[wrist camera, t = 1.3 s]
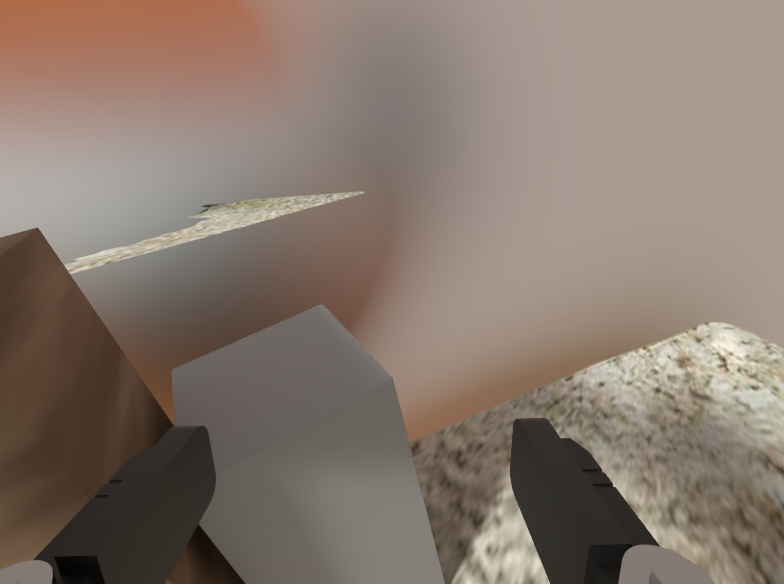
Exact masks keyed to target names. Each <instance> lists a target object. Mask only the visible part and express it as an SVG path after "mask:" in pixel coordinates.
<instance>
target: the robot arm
mask: <svg viewBox="0 0 784 584" xmlns="http://www.w3.org/2000/svg"><path fill="white" fill-rule="evenodd" d="M510 477H511V484H512V489H513V492H514V495H515V498H516V500H517V503H518V505H519V508H520V510H521V513H522V515H523V518H524V520H525V523H526V525H527V528H528V530H529V532H530V535H531V537H532V540H533V542H534V545H535V547H536V550H537V552H538V555H539V557H540V559H541V562H542V564H543V567H544V569H545V572H546V574H547V577H548V579H549V582H550V584H715V583H714V582H713V581H712V579H711V578H710V577H709V576H708V575H707V574H706V573H705V572H703V571H702V570H701V569H700V568H699V567H698V566H696V565H695V564H694V563H692V562H691V561H689V560H688V559H686V558H684V557H683V556H681V555H679V554H677V553H675V552H673V551H671V550H668V549H666V548H662V547H660V546H659V544H658V543H657V542H656V540H655V539H654V538H653V536H652V535H651V534H650V532H649V531H648V530H647V528H646V527H645V526H644V524H643V523H642V522H641V520H640V519H639V518H638V516H637V515H636V514H635V512H634V511H633V510H632V509H631V507H630V506H629V505H628V503H627V502H626V501H625V499H624V498H623V497H622V495H621V494H620V493H619V491H618V490H617V489H616V487H613V483H612V482H611V481H610V479H609V478H608V477H607V475H606V474H605V473H603V472H602V469H601V467H600V466H599V465H598V463H597V462H596V461H595V459H594V458H593V457H592V455H591V454H590V453H589V452H588V451H587V450H585V449H584V448H583V447H581V446H580V445H579V444H577V443H576V442H575V441H573V440H572V439H571V438H560V437H559V435H558V434H557V432H556V431H555V430H554V428H553V427H552V425H551V424H550V422H549V421H548V420H547V419H546V418H530V419H515V421H514V425H513V436H512V449H511V462H510ZM215 486H216V472H215V466H214V461H213V455H212V450H211V444H210V439H209V434H208V430H207V428H206V427H205V426H174V427H171V428H170V429H169V430H168V431H167V432H166V433H165V434H164V435H163V436H162V437H161V438H160V439H159V441H158V442H157V443H156V444H155V445H154V446H153V447H152V448H147V449H145V450H144V451H142V452H141V453H139V454H138V455H136V456H135V457H133V458H132V459H130V460H129V461H127V462H126V463H125V464H124V465H123V466H122V467H121V468H120V469H119V470H118V471H117V472H116V473H115V474H114V475H113V476H112V477H111V478H110V479H109V483H108V484H105V485H104V486H103V487H102V488H101V489H100V490H99V491H98V492H97V493H96V494H95V497H94V499H90V501H89V502H88V503H87V504H86V505H85V506H84V507H83V508H82V509H81V510H80V511H79V512H78V513H77V514H76V515H75V516H74V517H73V518H72V519H71V521H70V522H69V523H68V524H67V525H66V526H65V527H64V528H63V529H62V530H61V531H60V532H59V533H58V534H57V535H56V536H55V537H54V538H53V539H52V541H51V542H50V543H49V544H48V545H47V546H46V547H45V548H44V549H43V550H42V551H41V552H40V553H39V554H38V555H37V556H36V557H35V558H34V559H33V560H31V561H25V562H21V563H17V564H14V565H11V566H9V567H6V568H4V569H2V570H0V584H165V582H166V581H167V579H168V577H169V575H170V574H171V572H172V570H173V568H174V566H175V565H176V563H177V561H178V559H179V558H180V556H181V554H182V552H183V550H184V549H185V547H186V545H187V543H188V542H189V540H190V538H191V536H192V534H193V533H194V531H195V529H196V527H197V526H198V524H199V522H200V520H201V518H202V517H203V515H204V513H205V511H206V510H207V508H208V506H209V504H210V502H211V500H212V498H213V495H214V491H215Z"/></svg>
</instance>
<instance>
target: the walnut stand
mask: <svg viewBox="0 0 784 584" xmlns="http://www.w3.org/2000/svg"><path fill="white" fill-rule="evenodd" d="M171 427H174V425H173V424H172V422H171V421H170V420H169V418H168V417H167V415H166V414H165V412H164V411H163V409H162V408H161V406H160V405H159V404H158V402H157V401H156V399H155V398H154V396H153V395H152V393H151V392H150V390H149V389H148V387H147V386H146V385H145V383H144V382H143V380H142V379H141V377H140V376H139V374H138V373H137V371H136V370H135V369H134V367H133V366H132V365H131V363H130V361H129V360H128V358H127V357H126V355H125V354H124V352H123V351H122V350H121V348H120V347H119V345H118V344H117V342H116V341H115V339H114V338H113V336H112V335H111V334H110V332H109V331H108V329H107V328H106V326H105V325H104V323H103V322H102V321H101V319H100V317H99V316H98V315H97V313H96V312H95V310H94V309H93V307H92V306H91V304H90V303H89V302H88V300H87V298H86V297H85V296H84V294H83V293H82V291H81V290H80V288H79V287H78V285H77V284H76V282H75V281H74V280H73V278H72V277H71V275H70V274H69V272H68V271H67V269H66V268H65V266H64V265H63V264H62V262H61V261H60V259H59V258H58V256H57V255H56V253H55V252H54V250H53V249H52V247H51V246H50V245H49V243H48V242H47V240H46V239H45V237H44V236H43V234H42V233H41V231H40V230H39V229H38V228H35V229H31V230H27V231H23V232H20V233H16V234H12V235H9V236H5V237H2V238H0V570H2V569H4V568H6V567H9V566H11V565H14V564H17V563H21V562H25V561H31V560H33V559H34V558H35V557H36V556H37V555H38V554H39V553H40V552H41V551H42V550H43V549H44V548H45V547H46V546H47V545H48V544H49V543H50V542H51V541H52V539H53V538H54V537H55V536H56V535H57V534H58V533H59V532H60V531H61V530H62V529H63V528H64V527H65V526H66V525H67V524H68V523H69V522H70V521H71V519H72V518H73V517H74V516H75V515H76V514H77V513H78V512H79V511H80V510H81V509H82V508H83V507H84V506H85V505H86V504H87V503H88V502H89V501H90V499H94V497H95V494H96V493H97V492H98V491H99V490H100V489H101V488H102V487H103V486H104V485H105V484H108V483H109V479H110V478H111V477H112V476H113V475H114V474H115V473H116V472H117V471H118V470H119V469H120V468H121V467H122V466H123V465H124V464H125V463H126V462H127V461H129V460H130V459H132V458H133V457H135V456H136V455H138V454H139V453H141V452H142V451H144V450H145V449H147V448H152V447H153V446H154V445H155V444H156V443H157V442H158V441H159V439H160V438H161V437H162V436H163V435H164V434H165V433H166V432H167V431H168V430H169V429H170V428H171ZM165 584H245V583H244V581H243V580H242V579H241V577H240V576H239V575H238V574H237V572H236V571H235V570H234V569H233V567H232V566H231V565H230V563H229V562H228V561H227V560H226V558H225V557H224V556H223V554H222V553H221V552H220V551H219V549H218V548H217V547H216V546H215V544H214V543H213V542H212V540H211V539H210V538H209V537H208V535H207V534H206V533H205V531H204V530H203V529H202V528H201V526H200V525H199V524H198V526H197V527H196V529H195V531H194V533H193V534H192V536H191V538H190V540H189V542H188V543H187V545H186V547H185V549H184V550H183V552H182V554H181V556H180V558H179V559H178V561H177V563H176V565H175V566H174V568H173V570H172V572H171V574H170V575H169V577H168V579H167V581H166V582H165Z"/></svg>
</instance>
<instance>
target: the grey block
mask: <svg viewBox="0 0 784 584" xmlns="http://www.w3.org/2000/svg"><path fill="white" fill-rule="evenodd" d="M172 386H173V405H174V424H175V425H174V426H205V427H206V428H207V430H208V434H209V439H210V444H211V450H212V455H213V461H214V466H215V472H216V486H215V491H214V495H213V498H212V500H211V502H210V504H209V506H208V508H207V510H206V511H205V513H204V515H203V517H202V518H201V520H200V522H199V525H200V526H201V528H202V529H203V530H204V531H205V533H206V534H207V535H208V537H209V538H210V539H211V540H212V542H213V543H214V544H215V546H216V547H217V548H218V549H219V551H220V552H221V553H222V554H223V556H224V557H225V558H226V560H227V561H228V562H229V563H230V565H231V566H232V567H233V569H234V570H235V571H236V572H237V574H238V575H239V576H240V577H241V579H242V580H243V581H244V583H245V584H445V582H444V578H443V574H442V570H441V566H440V562H439V558H438V554H437V550H436V546H435V542H434V539H433V535H432V531H431V527H430V523H429V519H428V515H427V511H426V507H425V503H424V499H423V496H422V492H421V488H420V484H419V480H418V476H417V472H416V468H415V464H414V460H413V456H412V452H411V449H410V445H409V441H408V437H407V433H406V429H405V425H404V421H403V418H402V413H401V409H400V406H399V402H398V398H397V394H396V390H395V386H394V382H393V378H392V377H391V376H390V375H389V374H388V373H387V372H386V371H385V369H384V368H383V367H382V366H381V365H380V364H379V363H378V362H377V361H376V360H375V359H374V358H373V357H372V356H371V355H370V354H369V353H368V352H367V351H366V350H365V348H363V346H362V345H361V344H360V343H359V342H358V341H357V340H356V339H355V338H354V337H353V336H352V335H351V334H350V333H349V332H348V331H347V330H346V328H344V326H343V325H342V324H340V322H339V321H338V320H337V319H336V318H335V317H334V316H333V315H332V314H331V313H330V312H329V311H328V310H327V308H326V307H325V306H324V305H323V304H321V305H318V306H316V307H314V308H311V309H309V310H307V311H305V312H302V313H300V314H298V315H296V316H293V317H291V318H289V319H286V320H284V321H282V322H280V323H277V324H275V325H273V326H271V327H268V328H266V329H264V330H261V331H259V332H257V333H255V334H252V335H250V336H248V337H246V338H243V339H241V340H239V341H237V342H234V343H232V344H230V345H227V346H225V347H223V348H220V349H218V350H216V351H214V352H211V353H209V354H207V355H204V356H202V357H200V358H198V359H195V360H193V361H191V362H188V363H186V364H184V365H182V366H179V367H177V368H175V369H173V370H172Z"/></svg>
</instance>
